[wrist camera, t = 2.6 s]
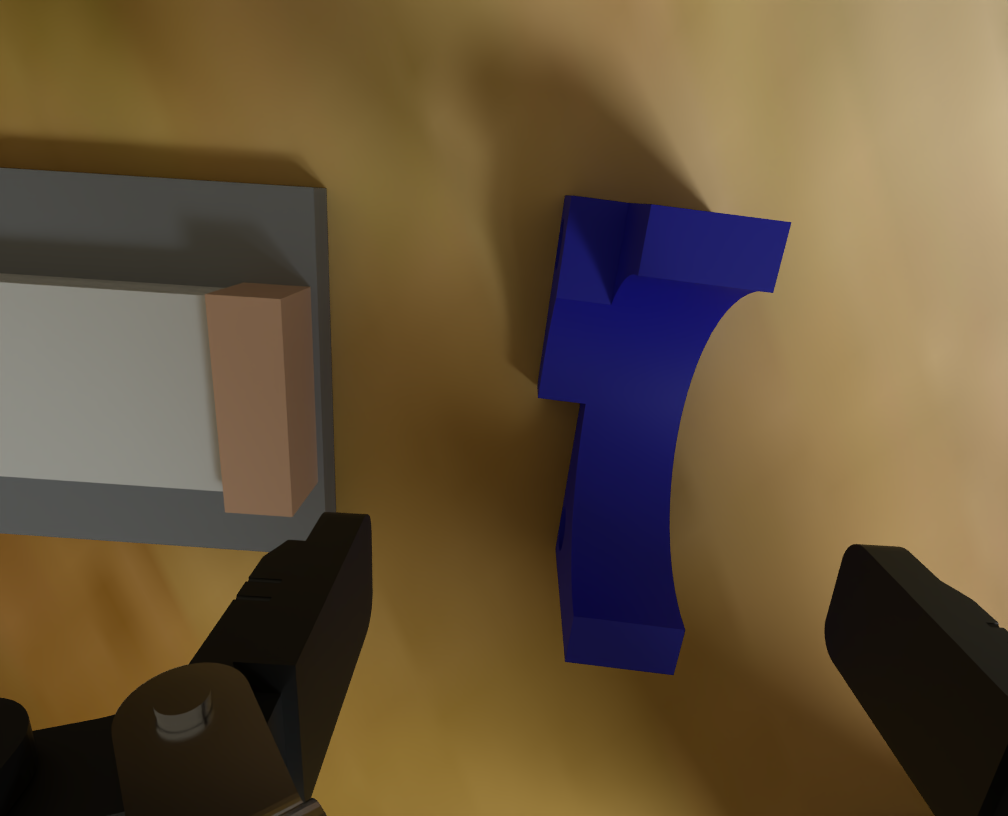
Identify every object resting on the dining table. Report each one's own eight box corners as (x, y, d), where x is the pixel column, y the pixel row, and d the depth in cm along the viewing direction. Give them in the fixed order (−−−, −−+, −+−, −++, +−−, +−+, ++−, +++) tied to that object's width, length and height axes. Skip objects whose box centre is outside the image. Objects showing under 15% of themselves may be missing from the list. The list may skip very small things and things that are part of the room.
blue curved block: (564, 195, 19) (581, 195, 13) (711, 214, 19) (791, 222, 13) (514, 540, 23) (510, 655, 17) (636, 555, 23) (673, 675, 17)
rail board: (326, 188, 19) (282, 186, 15) (336, 538, 23) (303, 598, 19) (-262, 150, 19) (-433, 141, 16) (-153, 503, 23) (-271, 557, 19)
